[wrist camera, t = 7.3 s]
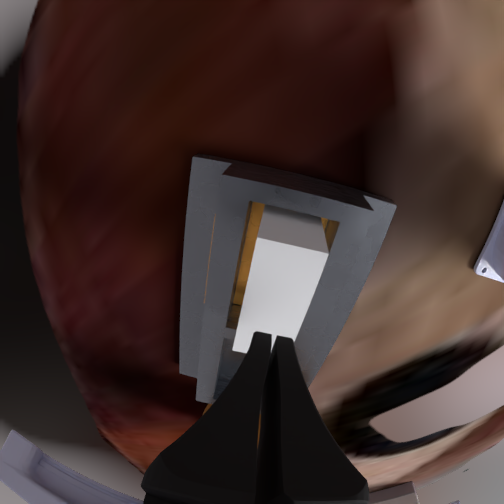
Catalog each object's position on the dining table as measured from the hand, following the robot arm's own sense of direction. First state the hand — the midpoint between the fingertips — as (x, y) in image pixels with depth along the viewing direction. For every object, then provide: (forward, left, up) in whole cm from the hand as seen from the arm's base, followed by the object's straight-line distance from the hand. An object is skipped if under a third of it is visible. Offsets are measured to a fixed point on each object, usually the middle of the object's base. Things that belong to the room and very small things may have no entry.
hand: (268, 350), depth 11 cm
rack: (0, +5, -8) cm, 10 cm away
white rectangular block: (0, 0, -7) cm, 7 cm away
